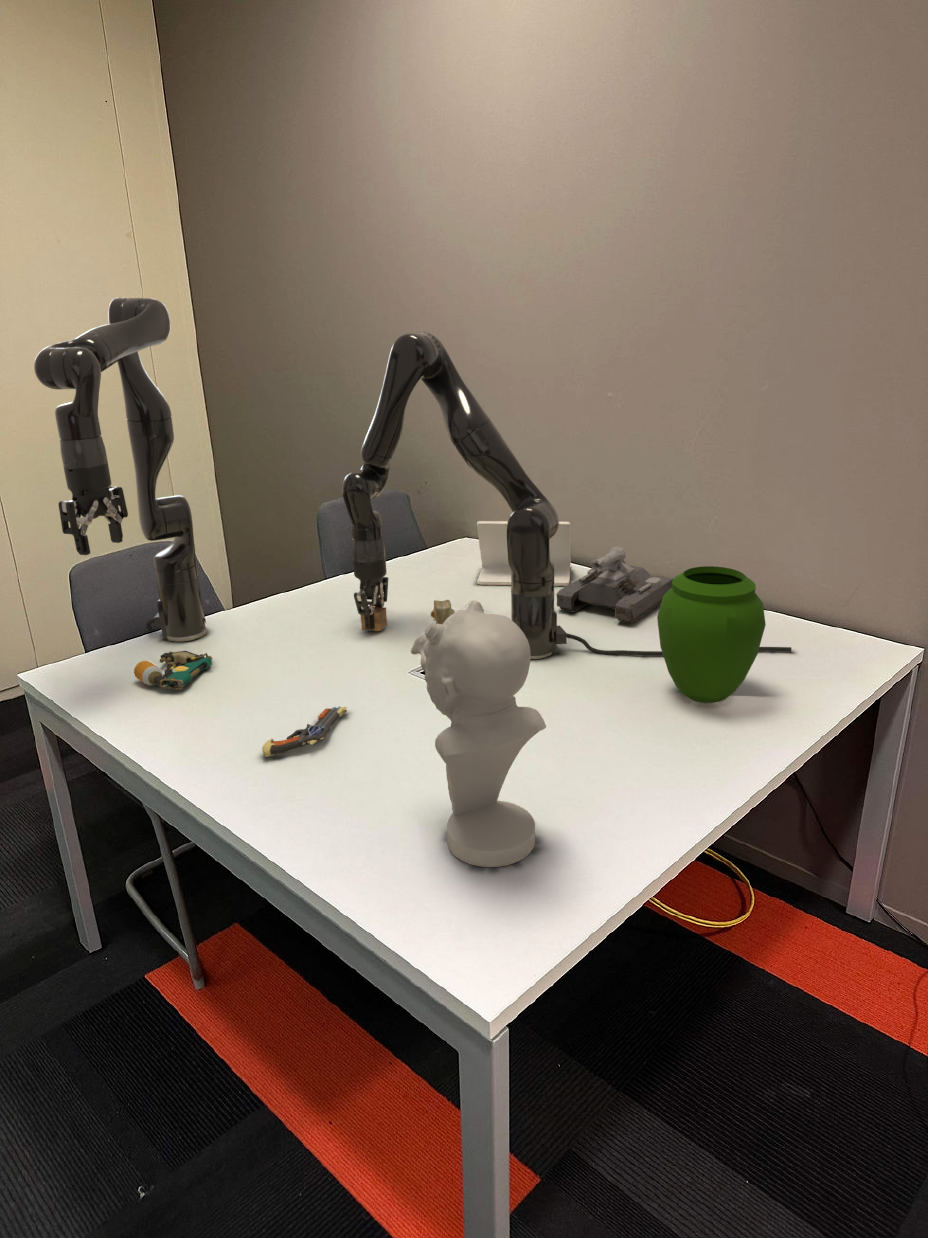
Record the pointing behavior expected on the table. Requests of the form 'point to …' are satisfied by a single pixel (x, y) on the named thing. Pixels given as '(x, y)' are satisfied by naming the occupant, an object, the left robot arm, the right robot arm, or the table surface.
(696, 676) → the vase
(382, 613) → the block
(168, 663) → the spray gun
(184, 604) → the left robot arm
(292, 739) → the toy gun
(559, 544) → the tablet stand
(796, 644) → the table surface
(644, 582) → the toy
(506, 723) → the bust sculpture
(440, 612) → the sculpture
